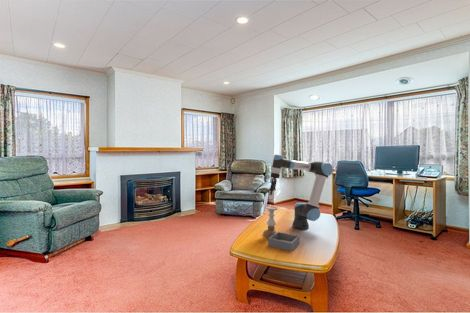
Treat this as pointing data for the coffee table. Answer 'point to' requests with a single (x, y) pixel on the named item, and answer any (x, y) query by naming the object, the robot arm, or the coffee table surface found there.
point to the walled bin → (284, 241)
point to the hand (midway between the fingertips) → (271, 198)
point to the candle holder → (270, 223)
